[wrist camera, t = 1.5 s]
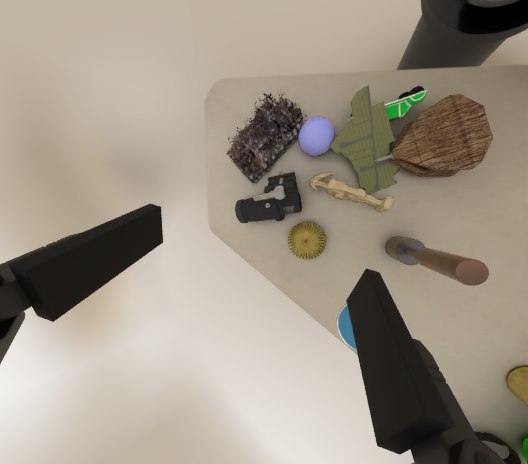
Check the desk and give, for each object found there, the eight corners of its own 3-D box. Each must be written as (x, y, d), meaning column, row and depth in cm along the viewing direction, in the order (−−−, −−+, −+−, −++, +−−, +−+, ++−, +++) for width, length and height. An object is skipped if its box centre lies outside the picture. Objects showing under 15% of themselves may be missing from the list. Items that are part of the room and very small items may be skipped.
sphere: (338, 153, 40) (305, 166, 42) (328, 123, 41) (297, 137, 43) (340, 136, 33) (302, 152, 35) (328, 101, 34) (291, 118, 36)
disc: (413, 318, 37) (382, 367, 39) (412, 318, 37) (382, 366, 39) (352, 288, 40) (327, 334, 42) (352, 287, 41) (327, 333, 43)
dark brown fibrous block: (277, 93, 44) (269, 72, 38) (313, 126, 42) (311, 109, 36) (221, 160, 49) (206, 151, 43) (251, 193, 47) (240, 188, 41)
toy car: (344, 114, 39) (348, 137, 40) (350, 109, 34) (353, 135, 35) (413, 89, 35) (414, 115, 37) (430, 81, 31) (430, 111, 32)
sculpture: (301, 215, 43) (283, 245, 45) (299, 214, 39) (279, 247, 41) (333, 234, 41) (313, 264, 43) (334, 235, 37) (312, 268, 39)
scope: (223, 202, 38) (243, 236, 44) (291, 189, 33) (302, 229, 39) (234, 180, 43) (250, 213, 50) (294, 166, 38) (304, 205, 45)
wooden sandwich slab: (361, 131, 35) (376, 113, 30) (446, 106, 34) (476, 84, 29) (380, 195, 34) (399, 188, 29) (467, 171, 34) (501, 159, 29)
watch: (454, 443, 36) (471, 470, 32) (463, 424, 35) (481, 449, 31) (502, 457, 35) (525, 486, 31) (512, 437, 34) (537, 465, 30)
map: (347, 202, 40) (348, 203, 39) (317, 114, 35) (317, 113, 34) (406, 180, 37) (408, 181, 36) (381, 78, 32) (384, 76, 31)
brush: (385, 236, 38) (444, 249, 19) (411, 236, 37) (502, 251, 18) (384, 258, 38) (443, 292, 19) (410, 259, 37) (500, 297, 18)
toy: (400, 187, 32) (315, 162, 36) (388, 211, 33) (306, 184, 37) (388, 193, 38) (316, 171, 42) (378, 214, 38) (308, 190, 42)
